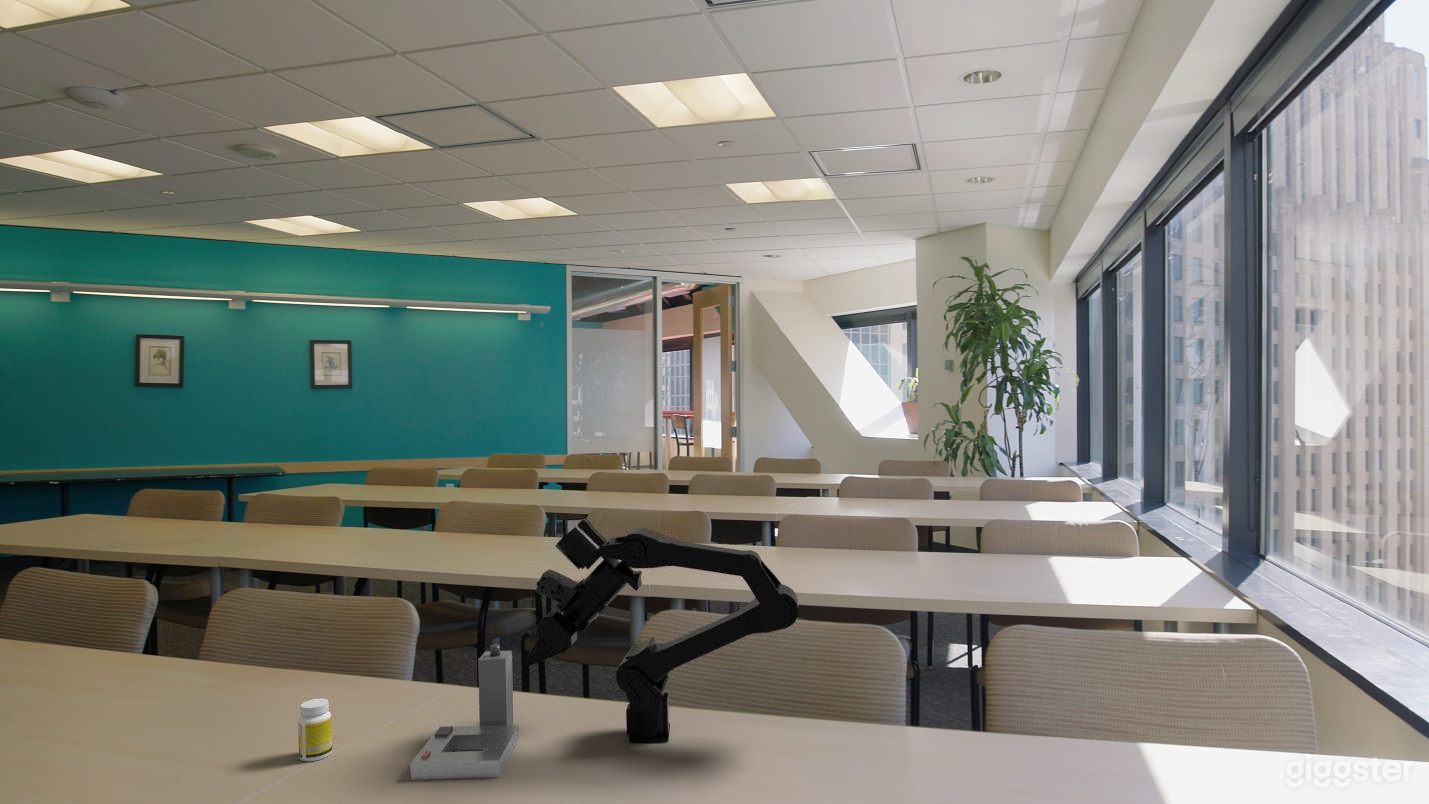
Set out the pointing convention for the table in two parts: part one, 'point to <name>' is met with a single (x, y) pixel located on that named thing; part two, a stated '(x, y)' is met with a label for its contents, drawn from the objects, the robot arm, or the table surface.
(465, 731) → the socket
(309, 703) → the supplement bottle
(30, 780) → the table surface
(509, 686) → the plug
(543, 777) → the table surface
